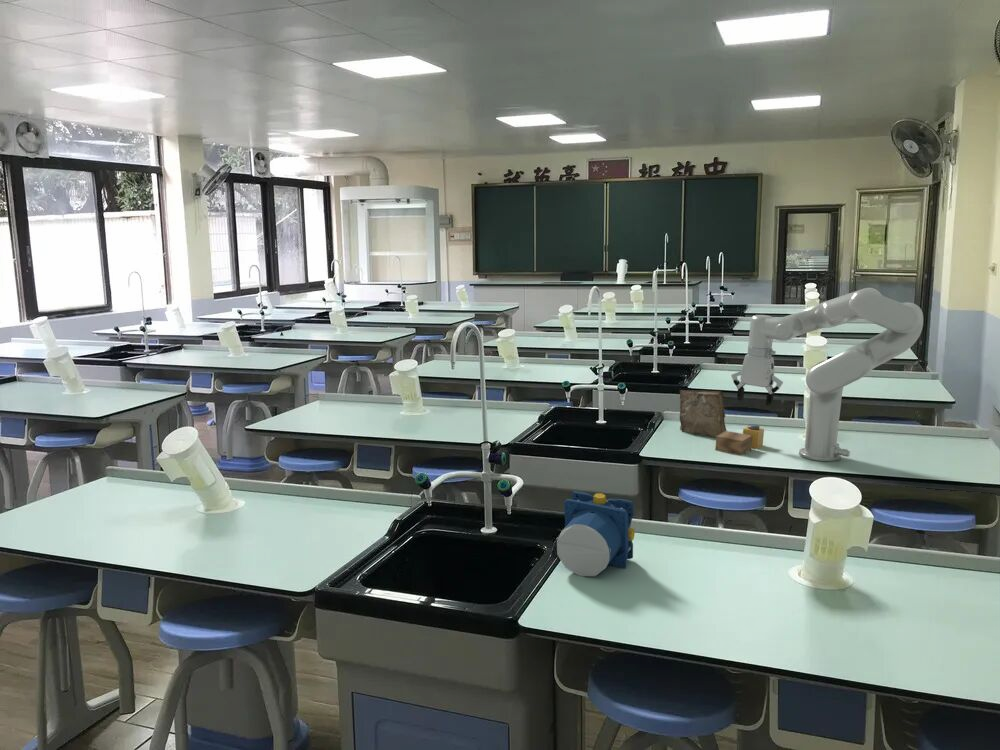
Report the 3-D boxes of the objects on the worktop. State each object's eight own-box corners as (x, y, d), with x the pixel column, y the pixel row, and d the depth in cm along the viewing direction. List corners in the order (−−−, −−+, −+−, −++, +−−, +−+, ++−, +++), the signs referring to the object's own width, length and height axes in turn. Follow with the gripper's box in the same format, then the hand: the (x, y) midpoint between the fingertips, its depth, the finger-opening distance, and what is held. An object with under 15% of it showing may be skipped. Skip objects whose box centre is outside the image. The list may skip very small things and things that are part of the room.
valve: (572, 545, 183) (571, 485, 178) (636, 558, 176) (636, 497, 171) (548, 574, 172) (546, 511, 167) (615, 590, 165) (615, 525, 160)
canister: (762, 445, 271) (764, 425, 270) (756, 448, 267) (758, 428, 266) (747, 442, 274) (749, 423, 273) (742, 446, 270) (743, 426, 269)
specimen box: (751, 449, 266) (752, 435, 265) (741, 455, 259) (742, 440, 258) (725, 445, 272) (726, 430, 271) (715, 450, 264) (716, 436, 264)
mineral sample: (726, 436, 282) (729, 392, 279) (723, 439, 278) (726, 394, 275) (678, 429, 291) (680, 386, 288) (674, 431, 287) (676, 388, 284)
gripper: (789, 354, 262) (783, 405, 265) (738, 347, 273) (734, 396, 276) (781, 357, 256) (775, 408, 260) (730, 350, 267) (725, 399, 270)
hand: (754, 402), depth 268 cm, fingers open, 9 cm apart
